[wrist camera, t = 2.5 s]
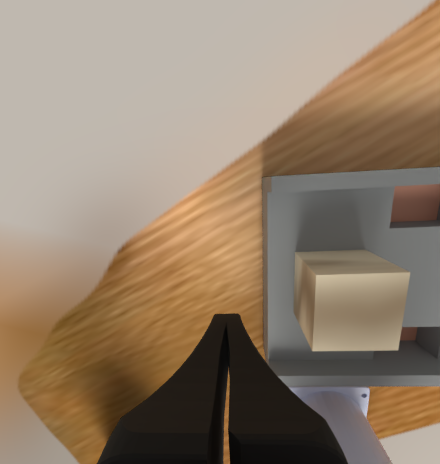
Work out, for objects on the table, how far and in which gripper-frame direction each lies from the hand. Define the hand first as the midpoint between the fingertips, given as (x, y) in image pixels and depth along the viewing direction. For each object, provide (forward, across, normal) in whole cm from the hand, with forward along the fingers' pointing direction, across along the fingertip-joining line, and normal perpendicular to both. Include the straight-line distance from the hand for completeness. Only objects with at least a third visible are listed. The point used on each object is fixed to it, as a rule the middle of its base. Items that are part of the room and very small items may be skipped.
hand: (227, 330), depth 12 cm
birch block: (+5, -8, 0) cm, 9 cm away
